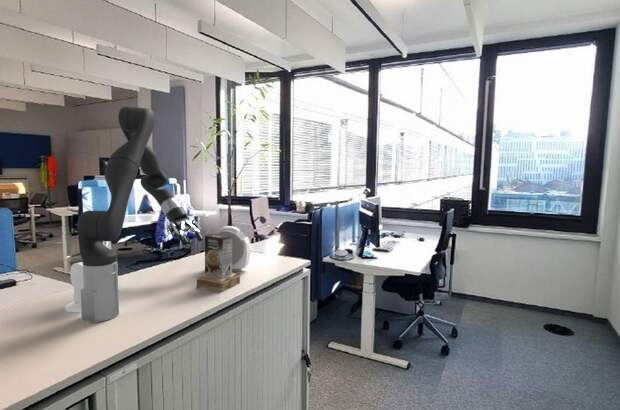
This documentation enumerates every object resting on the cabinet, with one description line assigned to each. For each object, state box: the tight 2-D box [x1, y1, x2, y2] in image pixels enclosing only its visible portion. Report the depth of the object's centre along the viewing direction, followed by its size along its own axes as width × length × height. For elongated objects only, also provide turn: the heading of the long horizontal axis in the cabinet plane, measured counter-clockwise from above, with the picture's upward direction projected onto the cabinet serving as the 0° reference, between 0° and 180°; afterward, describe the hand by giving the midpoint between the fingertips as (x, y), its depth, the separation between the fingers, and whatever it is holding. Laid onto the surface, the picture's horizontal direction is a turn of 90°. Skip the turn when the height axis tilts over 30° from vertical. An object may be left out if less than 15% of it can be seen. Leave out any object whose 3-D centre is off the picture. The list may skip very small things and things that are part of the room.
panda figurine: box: [64, 258, 84, 314], centre depth 119 cm, size 12×11×15 cm
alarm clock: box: [216, 225, 251, 274], centre depth 162 cm, size 18×8×20 cm, turn 84°
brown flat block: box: [196, 272, 241, 293], centre depth 143 cm, size 12×12×4 cm
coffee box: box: [204, 233, 233, 279], centre depth 142 cm, size 9×6×16 cm
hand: (194, 242), depth 146 cm, fingers open, 8 cm apart
